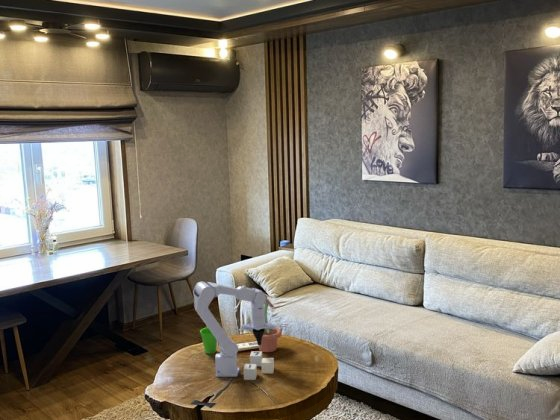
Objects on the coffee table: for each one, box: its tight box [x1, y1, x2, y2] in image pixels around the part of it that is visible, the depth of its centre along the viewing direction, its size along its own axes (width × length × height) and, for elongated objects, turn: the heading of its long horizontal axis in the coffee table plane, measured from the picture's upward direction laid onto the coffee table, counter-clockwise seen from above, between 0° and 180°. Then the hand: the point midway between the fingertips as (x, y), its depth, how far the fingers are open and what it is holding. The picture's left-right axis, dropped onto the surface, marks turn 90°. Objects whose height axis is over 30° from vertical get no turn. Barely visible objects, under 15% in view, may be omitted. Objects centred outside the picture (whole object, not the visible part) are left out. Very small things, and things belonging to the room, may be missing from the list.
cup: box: [199, 326, 218, 355], centre depth 274 cm, size 9×9×11 cm
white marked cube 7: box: [249, 350, 263, 367], centre depth 259 cm, size 5×5×5 cm
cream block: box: [260, 357, 275, 374], centre depth 252 cm, size 5×5×5 cm
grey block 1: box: [243, 363, 258, 381], centre depth 247 cm, size 5×5×5 cm
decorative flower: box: [252, 289, 283, 353], centre depth 272 cm, size 15×14×30 cm
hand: (259, 344), depth 257 cm, fingers closed
